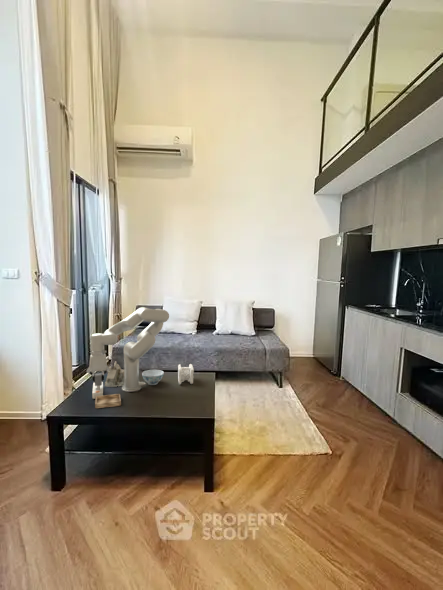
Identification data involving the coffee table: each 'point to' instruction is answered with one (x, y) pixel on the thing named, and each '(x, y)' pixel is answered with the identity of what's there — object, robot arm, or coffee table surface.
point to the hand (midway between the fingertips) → (98, 381)
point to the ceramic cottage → (115, 376)
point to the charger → (98, 380)
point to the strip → (97, 391)
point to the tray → (107, 401)
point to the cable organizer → (185, 373)
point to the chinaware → (152, 376)
